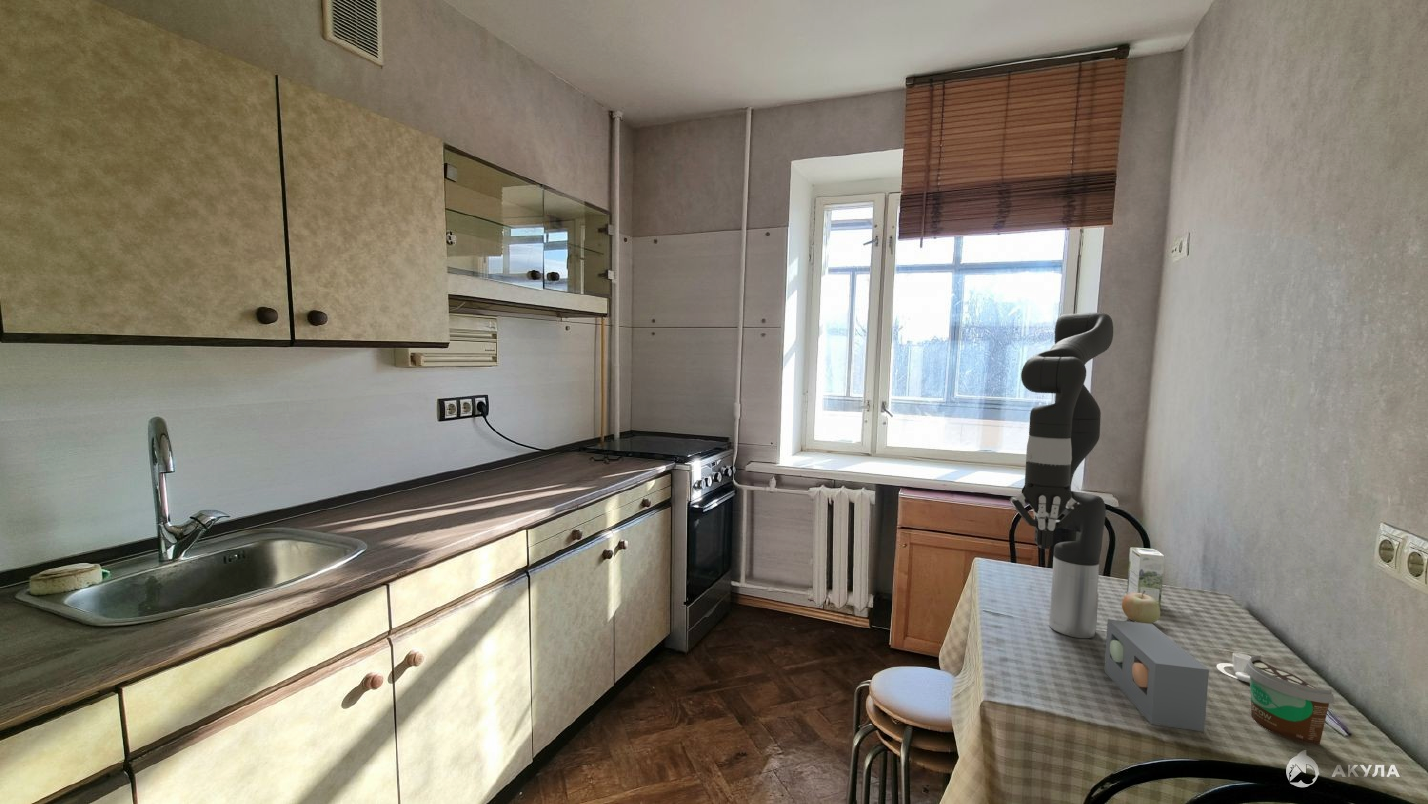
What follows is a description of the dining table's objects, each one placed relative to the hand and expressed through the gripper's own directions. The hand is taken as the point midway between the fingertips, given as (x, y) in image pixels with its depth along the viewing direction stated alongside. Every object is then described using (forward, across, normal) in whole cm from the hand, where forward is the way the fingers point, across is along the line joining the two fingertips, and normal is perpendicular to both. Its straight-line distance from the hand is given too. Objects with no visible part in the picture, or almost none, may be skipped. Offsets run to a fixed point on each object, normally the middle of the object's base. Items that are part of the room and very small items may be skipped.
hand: (1043, 547), depth 110 cm
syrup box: (+27, -42, -51) cm, 72 cm away
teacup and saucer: (+28, -41, -14) cm, 51 cm away
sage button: (+23, -17, -3) cm, 28 cm away
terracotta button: (+22, -17, +5) cm, 29 cm away
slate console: (+27, -19, +1) cm, 33 cm away
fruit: (+27, -35, -38) cm, 58 cm away
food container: (+27, -36, +5) cm, 46 cm away
